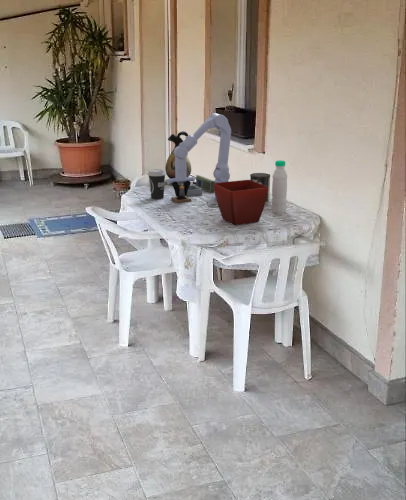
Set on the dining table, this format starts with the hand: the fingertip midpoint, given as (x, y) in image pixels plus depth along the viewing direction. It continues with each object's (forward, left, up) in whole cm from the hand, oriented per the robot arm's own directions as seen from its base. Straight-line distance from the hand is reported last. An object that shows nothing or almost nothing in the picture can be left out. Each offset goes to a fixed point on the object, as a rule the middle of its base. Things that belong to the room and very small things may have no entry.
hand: (181, 195), depth 326 cm
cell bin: (+14, -10, -3) cm, 17 cm away
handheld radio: (+25, -22, -3) cm, 34 cm away
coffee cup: (+11, +10, -3) cm, 15 cm away
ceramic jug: (+48, -17, -3) cm, 51 cm away
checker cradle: (0, 0, -3) cm, 3 cm away
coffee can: (-17, -37, -3) cm, 41 cm away
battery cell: (0, 0, -2) cm, 2 cm away
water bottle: (-41, -35, -3) cm, 54 cm away
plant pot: (-48, -11, -3) cm, 49 cm away
